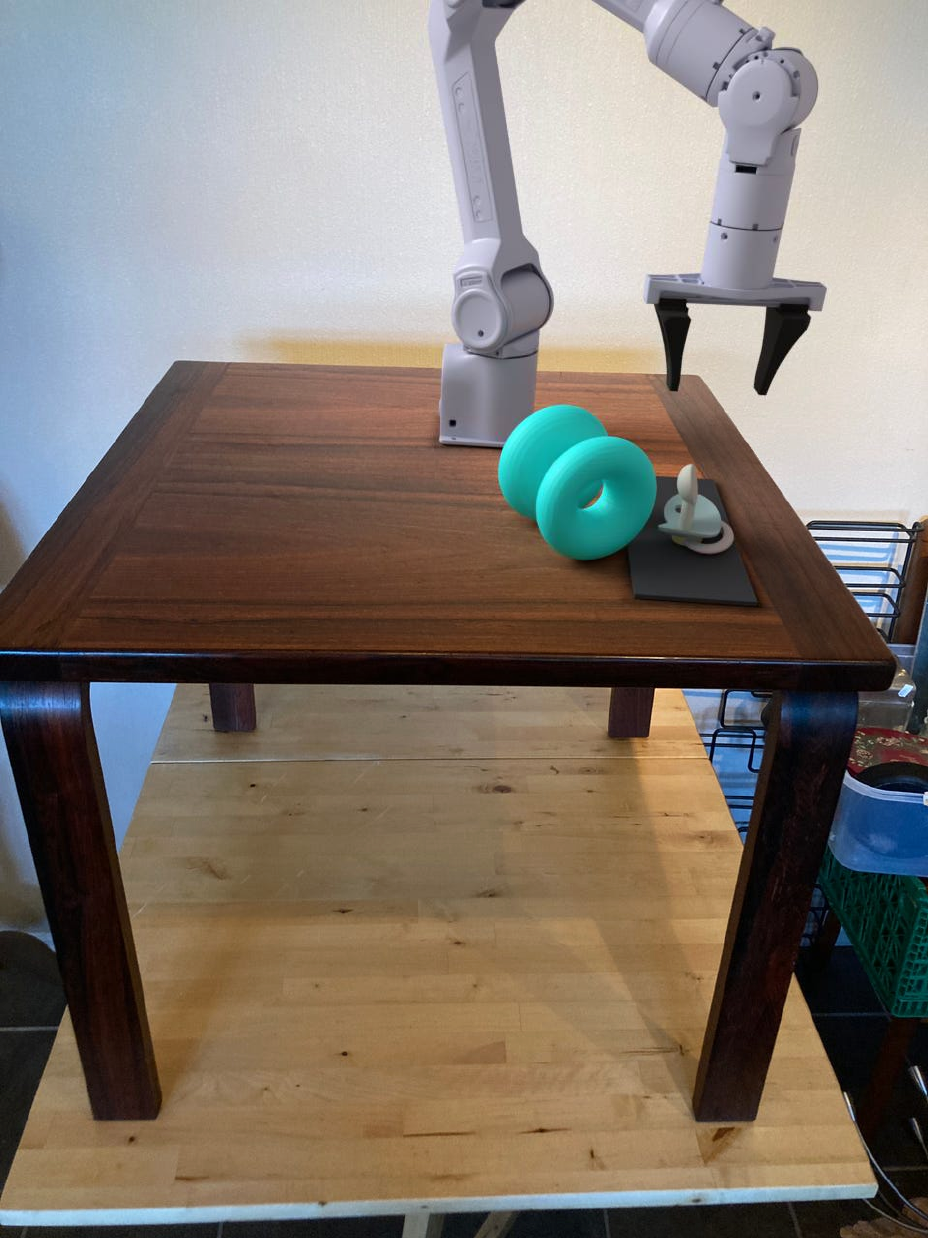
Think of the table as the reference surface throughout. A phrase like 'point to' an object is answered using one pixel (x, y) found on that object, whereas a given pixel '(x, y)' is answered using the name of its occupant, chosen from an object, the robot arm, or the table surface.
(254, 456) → the table surface
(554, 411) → the donuts
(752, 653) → the table surface
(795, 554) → the table surface
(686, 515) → the pacifier
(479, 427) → the robot arm
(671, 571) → the placemat
